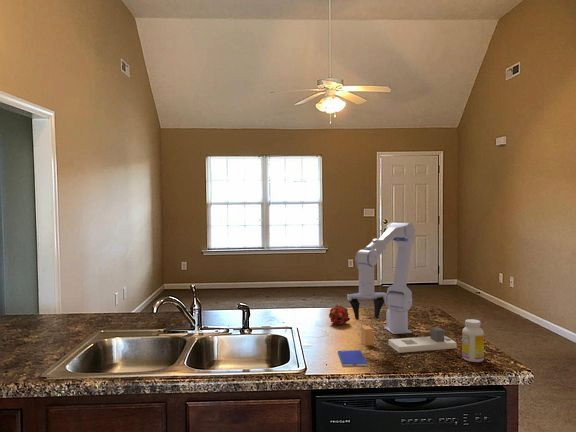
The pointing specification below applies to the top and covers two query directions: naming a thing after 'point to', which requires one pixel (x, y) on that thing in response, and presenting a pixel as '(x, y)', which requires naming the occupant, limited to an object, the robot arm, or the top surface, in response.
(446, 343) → the white insertion base
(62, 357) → the top surface
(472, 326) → the supplement bottle
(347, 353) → the hard drive
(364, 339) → the orange rectangular block
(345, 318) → the dragon fruit
